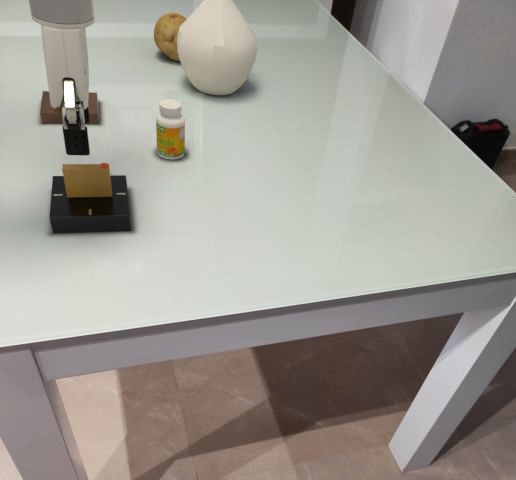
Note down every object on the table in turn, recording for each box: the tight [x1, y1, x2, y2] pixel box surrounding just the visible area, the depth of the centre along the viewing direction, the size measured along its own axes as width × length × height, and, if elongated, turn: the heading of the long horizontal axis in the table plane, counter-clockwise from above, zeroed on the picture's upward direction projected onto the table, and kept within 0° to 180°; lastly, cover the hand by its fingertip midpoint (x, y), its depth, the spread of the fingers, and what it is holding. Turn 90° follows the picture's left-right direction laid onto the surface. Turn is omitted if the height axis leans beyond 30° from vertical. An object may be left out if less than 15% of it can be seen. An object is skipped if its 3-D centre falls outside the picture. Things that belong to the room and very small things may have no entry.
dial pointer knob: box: [61, 162, 112, 198], centre depth 81 cm, size 7×2×5 cm, turn 102°
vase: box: [177, 0, 258, 96], centre depth 113 cm, size 18×18×30 cm
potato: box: [153, 12, 187, 62], centre depth 130 cm, size 10×12×10 cm
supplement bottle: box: [155, 98, 186, 161], centre depth 97 cm, size 5×5×10 cm
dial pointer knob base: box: [49, 174, 132, 234], centre depth 84 cm, size 12×12×3 cm
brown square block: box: [39, 90, 100, 125], centre depth 106 cm, size 11×10×4 cm
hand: (78, 137), depth 76 cm, fingers open, 9 cm apart
